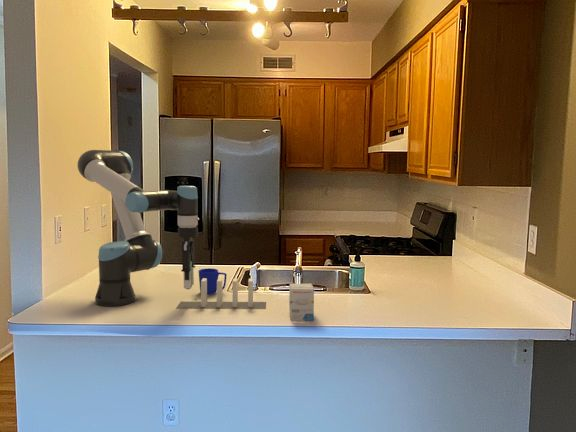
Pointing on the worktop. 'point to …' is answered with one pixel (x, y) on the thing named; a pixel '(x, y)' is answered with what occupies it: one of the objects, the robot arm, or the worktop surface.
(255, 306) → the mat
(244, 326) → the worktop surface
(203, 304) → the domino
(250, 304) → the domino
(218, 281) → the domino
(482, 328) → the worktop surface
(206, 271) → the mug
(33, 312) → the worktop surface
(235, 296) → the domino
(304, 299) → the ink box
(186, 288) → the green domino
